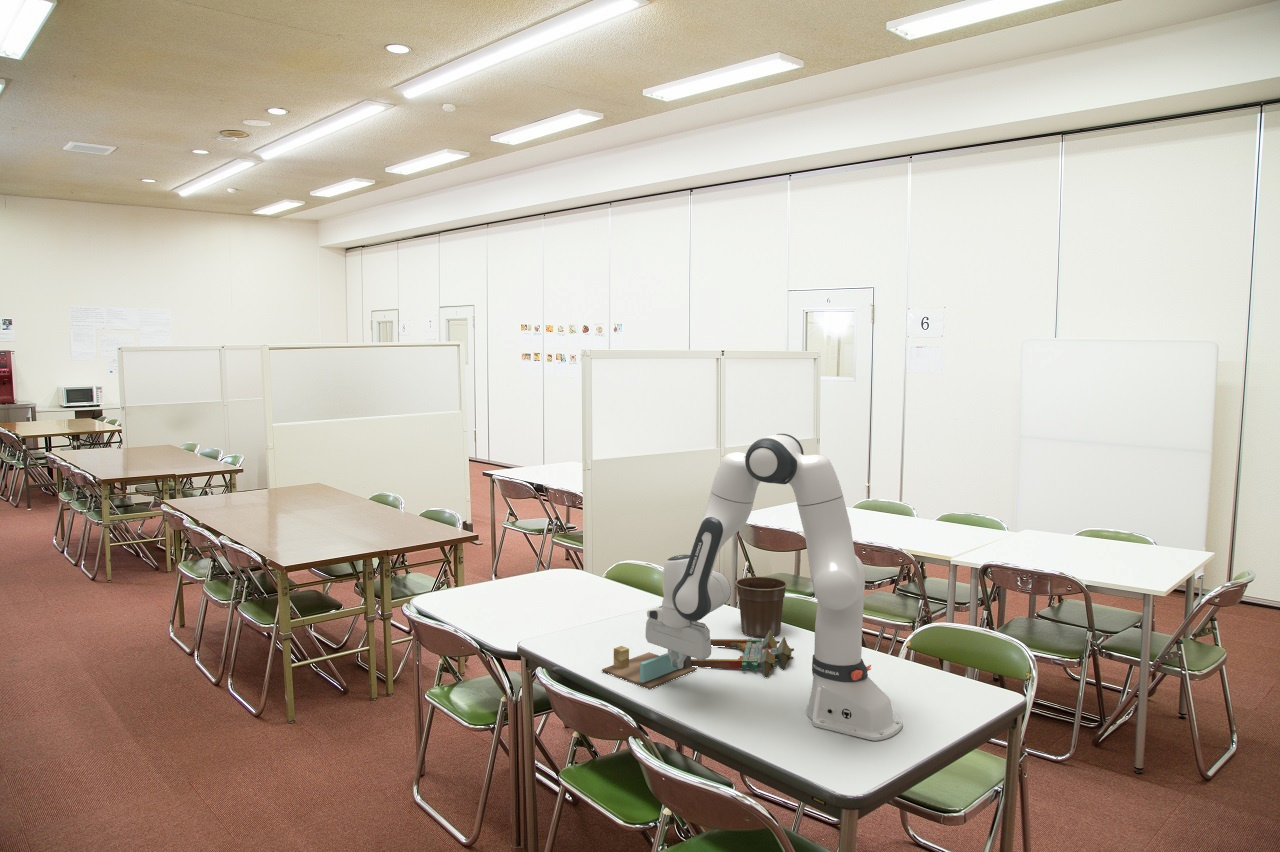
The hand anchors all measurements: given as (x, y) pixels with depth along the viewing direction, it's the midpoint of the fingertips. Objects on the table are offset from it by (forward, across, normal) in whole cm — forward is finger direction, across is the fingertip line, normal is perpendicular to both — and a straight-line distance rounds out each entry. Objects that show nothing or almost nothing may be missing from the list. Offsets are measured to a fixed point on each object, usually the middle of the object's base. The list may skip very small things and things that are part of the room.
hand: (677, 667), depth 220 cm
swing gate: (+4, +6, 0) cm, 7 cm away
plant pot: (+5, +9, -51) cm, 52 cm away
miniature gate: (+5, -1, -27) cm, 28 cm away
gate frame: (+5, +12, -2) cm, 13 cm away
